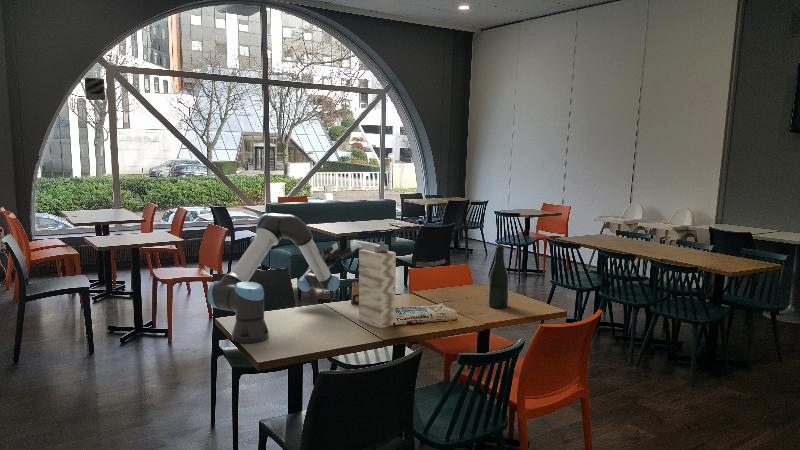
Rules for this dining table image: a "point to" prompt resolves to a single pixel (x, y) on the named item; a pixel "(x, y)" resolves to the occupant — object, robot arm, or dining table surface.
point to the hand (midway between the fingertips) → (347, 244)
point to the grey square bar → (370, 246)
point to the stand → (377, 288)
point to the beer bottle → (498, 281)
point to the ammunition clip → (355, 294)
